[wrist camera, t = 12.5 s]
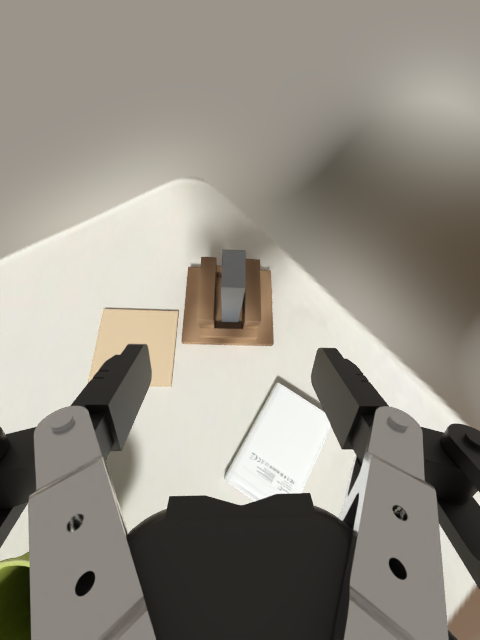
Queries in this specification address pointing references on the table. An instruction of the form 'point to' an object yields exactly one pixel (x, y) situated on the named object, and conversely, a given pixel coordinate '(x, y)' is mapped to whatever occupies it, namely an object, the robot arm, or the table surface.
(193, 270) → the rack
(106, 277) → the table surface
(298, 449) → the external hard drive
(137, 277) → the table surface
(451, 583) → the table surface
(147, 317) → the cork mat
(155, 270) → the table surface
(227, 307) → the grey rectangular block
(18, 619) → the plant pot
